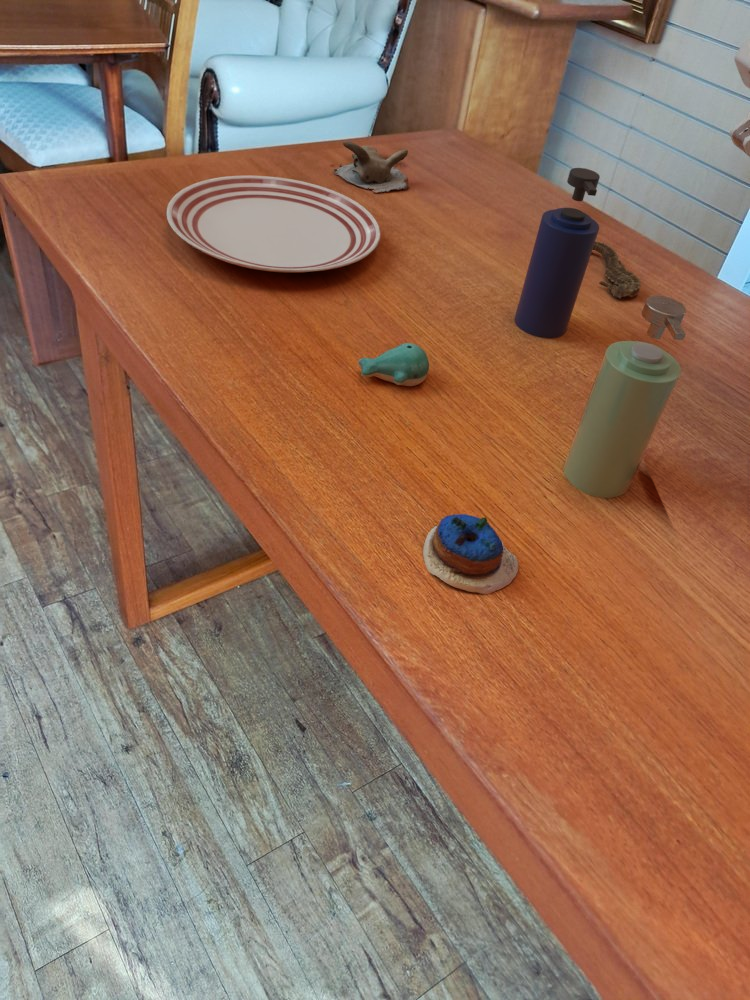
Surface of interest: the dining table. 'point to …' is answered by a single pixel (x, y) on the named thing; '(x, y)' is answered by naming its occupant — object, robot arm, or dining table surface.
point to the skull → (373, 169)
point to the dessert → (469, 555)
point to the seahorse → (617, 273)
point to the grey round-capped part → (664, 317)
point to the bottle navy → (555, 272)
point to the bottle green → (620, 417)
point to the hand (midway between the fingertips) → (739, 145)
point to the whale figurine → (398, 365)
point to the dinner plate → (273, 223)
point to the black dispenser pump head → (583, 182)
